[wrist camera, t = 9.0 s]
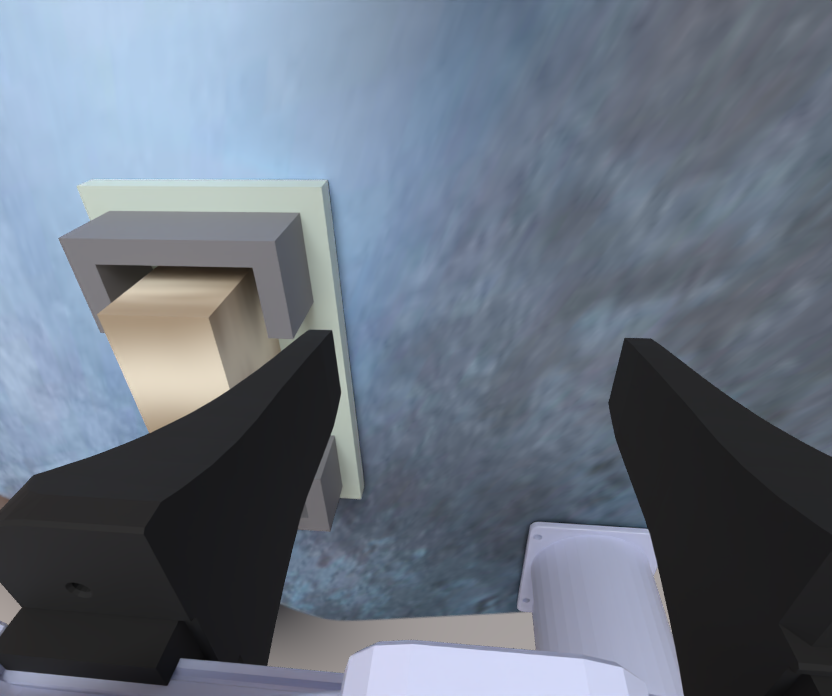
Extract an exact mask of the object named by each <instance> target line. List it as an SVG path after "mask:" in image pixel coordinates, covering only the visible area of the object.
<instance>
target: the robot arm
mask: <svg viewBox="0 0 832 696" xmlns="http://www.w3.org/2000/svg"><path fill="white" fill-rule="evenodd" d="M340 397H341V387H340V380H339V373H338V366H337V359H336V352H335V345H334V338H333V331H332V330H310V329H309V330H308V331H306V332H305V333H304V334H302V335H301V336H300V337H298V338H297V339H296V340H295V341H293V342H292V343H291V344H290V345H288V346H287V347H286V348H285V349H283V350H282V351H281V352H280V353H278V354H277V355H276V356H275V357H273V358H272V359H271V360H269V361H268V362H267V363H266V364H264V365H263V366H262V367H260V368H259V369H258V370H256V371H255V372H254V373H252V374H251V375H249V376H248V377H247V378H245V379H244V380H242V381H241V382H239V383H238V384H237V385H235V386H234V387H232V388H231V389H230V390H228V391H227V392H225V393H223V394H222V395H220V396H219V397H217V398H215V399H214V400H212V401H211V402H209V403H207V404H205V405H204V406H202V407H200V408H198V409H197V410H195V411H193V412H191V413H190V414H188V415H186V416H184V417H182V418H180V419H178V420H176V421H174V422H172V423H170V424H167V425H165V426H163V427H161V428H159V429H157V430H155V431H153V432H151V433H149V434H147V435H144V436H142V437H140V438H137V439H135V440H133V441H130V442H128V443H126V444H123V445H121V446H118V447H115V448H113V449H110V450H108V451H105V452H103V453H100V454H97V455H94V456H92V457H89V458H86V459H83V460H80V461H77V462H73V463H70V464H67V465H64V466H61V467H58V468H55V469H52V470H49V471H46V472H43V473H39V474H36V475H33V476H32V477H31V478H30V479H29V480H28V481H27V483H26V484H25V485H24V486H23V487H22V488H21V489H20V490H19V491H18V492H17V493H16V494H15V495H14V496H13V497H12V498H11V499H10V500H9V501H8V503H7V504H6V505H5V506H4V507H3V508H2V509H1V510H0V583H1V584H2V585H3V586H4V587H5V588H6V590H8V592H9V593H10V594H11V595H12V596H13V598H14V599H15V600H16V601H17V602H18V603H19V604H20V606H21V607H22V608H21V610H20V611H19V612H18V613H17V615H16V616H15V617H14V618H13V620H12V621H11V623H10V624H9V625H7V624H6V623H4V622H2V621H0V696H832V457H831V456H829V455H827V454H825V453H822V452H821V451H819V450H817V449H815V448H813V447H811V446H809V445H807V444H805V443H803V442H802V441H800V440H798V439H796V438H795V437H793V436H791V435H789V434H788V433H786V432H784V431H782V430H781V429H779V428H777V427H775V426H774V425H772V424H770V423H769V422H767V421H765V420H764V419H762V418H760V417H759V416H757V415H756V414H754V413H753V412H751V411H750V410H748V409H747V408H745V407H744V406H742V405H741V404H739V403H738V402H736V401H735V400H733V399H732V398H730V397H729V396H728V395H726V394H725V393H723V392H722V391H720V390H719V389H718V388H716V387H715V386H714V385H712V384H711V383H710V382H708V381H707V380H706V379H704V378H703V377H701V376H700V375H699V374H698V373H696V372H695V371H694V370H692V369H691V368H690V367H688V366H687V365H686V364H685V363H683V362H682V361H681V360H679V359H678V358H677V357H676V356H674V355H673V354H672V353H670V352H669V351H668V350H666V349H665V348H664V347H662V346H661V345H660V344H658V343H657V342H655V341H654V340H652V339H645V338H624V342H623V346H622V350H621V354H620V358H619V363H618V367H617V371H616V375H615V379H614V383H613V387H612V391H611V395H610V399H609V403H608V404H609V409H610V414H611V419H612V424H613V429H614V433H615V438H616V441H617V444H618V447H619V450H620V453H621V455H622V458H623V461H624V464H625V466H626V469H627V472H628V475H629V477H630V480H631V483H632V485H633V488H634V491H635V493H636V496H637V499H638V502H639V504H640V507H641V510H642V512H643V515H644V518H645V521H646V524H647V527H648V529H643V528H628V527H613V526H597V525H582V524H566V523H551V522H534V523H532V524H531V525H530V528H529V534H528V540H527V546H526V552H525V558H524V564H523V570H522V576H521V582H520V588H519V594H518V600H517V608H518V610H520V611H522V612H532V615H533V625H534V634H535V645H536V650H525V649H514V648H502V647H490V646H479V645H467V644H466V645H465V644H454V643H444V642H431V641H419V640H398V641H379V642H377V643H375V644H373V645H370V646H368V647H366V648H364V649H362V650H360V651H357V652H356V653H354V654H353V655H351V656H350V658H349V660H348V663H347V666H346V669H345V672H344V673H336V672H325V671H315V670H304V669H293V668H283V667H282V668H281V667H272V666H267V663H268V659H269V653H270V648H271V643H272V638H273V633H274V628H275V623H276V619H277V614H278V610H279V605H280V600H281V596H282V591H283V587H284V582H285V578H286V574H287V570H288V566H289V561H290V557H291V553H292V549H293V545H294V541H295V537H296V534H297V530H298V526H299V522H300V518H301V514H302V511H303V508H304V505H305V502H306V499H307V496H308V494H309V491H310V488H311V486H312V483H313V480H314V478H315V475H316V473H317V470H318V467H319V465H320V462H321V460H322V457H323V454H324V452H325V449H326V446H327V444H328V441H329V438H330V436H331V433H332V430H333V427H334V424H335V420H336V415H337V411H338V407H339V402H340ZM657 567H658V569H659V574H660V578H661V582H662V587H663V591H664V596H665V601H666V605H667V610H668V614H669V619H670V623H671V629H672V632H671V629H670V626H669V623H668V620H667V617H666V614H665V611H664V608H663V605H662V601H661V598H660V595H659V592H658V589H657V586H656V583H655V580H654V577H653V576H654V574H655V571H656V569H657ZM672 634H673V636H672Z"/></svg>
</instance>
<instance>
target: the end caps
mask: <svg viewBox="0 0 832 696" xmlns="http://www.w3.org/2000/svg"><path fill="white" fill-rule="evenodd" d="M77 189H78V191H79V194H80V196H81V199H82V201H83V204H84V206H85V209H86V211H87V214H88V216H89V219H90V221H89V222H88V223H86V224H84V225H82V226H80V227H78V228H76V229H74V230H73V231H71V232H69V233H67V234H65V235H63V236H61V237H60V238H58V239H59V241H60V243H61V245H62V247H63V250H64V252H65V254H66V256H67V259H68V261H69V263H70V265H71V268H72V270H73V272H74V274H75V277H76V279H77V281H78V283H79V286H80V288H81V290H82V292H83V295H84V297H85V299H86V301H87V304H88V306H89V308H90V310H91V312H92V315H93V317H94V319H95V321H96V324H97V326H98V328H99V330H100V333H105V332H104V329H103V327H102V325H101V322H100V320H99V318H98V316H97V314H98V313H99V312H101V311H102V310H103V309H104V308H106V307H107V306H108V305H109V304H111V303H112V302H113V301H114V300H116V299H117V298H118V297H119V296H121V295H122V294H123V293H124V292H126V291H127V290H128V289H130V288H131V287H132V286H133V285H135V284H136V283H137V282H138V281H140V280H141V279H142V278H143V277H145V276H146V275H147V274H148V273H150V272H151V271H152V270H153V269H155V268H156V267H157V266H198V267H249V268H253V272H254V276H255V281H256V285H257V290H258V294H259V299H260V303H261V308H262V312H263V316H264V321H265V325H266V330H267V334H268V338H274V339H279V344H280V348H281V351H282V350H283V349H285V348H286V347H287V346H288V345H290V344H291V343H292V342H293V341H295V340H296V339H297V338H298V337H300V336H301V335H302V334H304V333H305V332H306V331H308V330H309V329H310V330H332V331H333V338H334V345H335V352H336V359H337V366H338V373H339V380H340V387H341V397H340V402H339V407H338V411H337V415H336V420H335V424H334V427H333V430H332V433H331V436H330V438H329V441H328V444H327V446H326V449H325V452H324V454H323V457H322V460H321V462H320V465H319V467H318V470H317V473H316V475H315V478H314V480H313V483H312V486H311V488H310V491H309V494H308V496H307V499H306V502H305V505H304V508H303V511H302V514H301V518H300V522H299V526H298V529H299V530H314V531H328V532H330V531H331V527H332V523H333V520H334V516H335V512H336V509H337V505H338V502H339V498H351V499H361V498H362V494H363V490H364V478H363V470H362V462H361V453H360V445H359V437H358V428H357V420H356V412H355V403H354V395H353V387H352V378H351V370H350V362H349V353H348V345H347V337H346V328H345V320H344V312H343V303H342V295H341V287H340V278H339V270H338V262H337V253H336V245H335V237H334V228H333V220H332V212H331V203H330V195H329V187H328V180H232V179H91V180H89V181H87V182H85V183H82V184H80V185H78V186H77Z"/></svg>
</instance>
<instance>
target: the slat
mask: <svg viewBox="0 0 832 696" xmlns="http://www.w3.org/2000/svg"><path fill="white" fill-rule="evenodd" d="M97 316H98V318H99V320H100V322H101V325H102V327H103V329H104V332H105V334H106V336H107V338H108V341H109V343H110V345H111V347H112V350H113V352H114V354H115V356H116V359H117V361H118V363H119V366H120V368H121V370H122V372H123V375H124V377H125V379H126V381H127V384H128V386H129V388H130V390H131V393H132V395H133V397H134V400H135V402H136V404H137V406H138V409H139V411H140V413H141V415H142V418H143V420H144V422H145V424H146V427H147V429H148V431H149V433H151V432H153V431H155V430H157V429H159V428H161V427H163V426H165V425H167V424H170V423H172V422H174V421H176V420H178V419H180V418H182V417H184V416H186V415H188V414H190V413H191V412H193V411H195V410H197V409H198V408H200V407H202V406H204V405H205V404H207V403H209V402H211V401H212V400H214V399H215V398H217V397H219V396H220V395H222V394H223V393H225V392H227V391H228V390H230V389H231V388H232V387H234V386H235V385H237V384H238V383H239V382H241V381H242V380H244V379H245V378H247V377H248V376H249V375H251V374H252V373H254V372H255V371H256V370H258V369H259V368H260V367H262V366H263V365H264V364H266V363H267V362H268V361H269V360H271V359H272V358H273V357H275V356H276V355H277V354H278V353H280V352H281V348H280V344H279V339H274V338H268V334H267V330H266V325H265V321H264V316H263V312H262V308H261V303H260V299H259V294H258V290H257V285H256V281H255V276H254V272H253V268H249V267H198V266H157V267H156V268H155V269H153V270H152V271H151V272H150V273H148V274H147V275H146V276H145V277H143V278H142V279H141V280H140V281H138V282H137V283H136V284H135V285H133V286H132V287H131V288H130V289H128V290H127V291H126V292H124V293H123V294H122V295H121V296H119V297H118V298H117V299H116V300H114V301H113V302H112V303H111V304H109V305H108V306H107V307H106V308H104V309H103V310H102V311H101V312H99V313H98V314H97Z"/></svg>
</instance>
